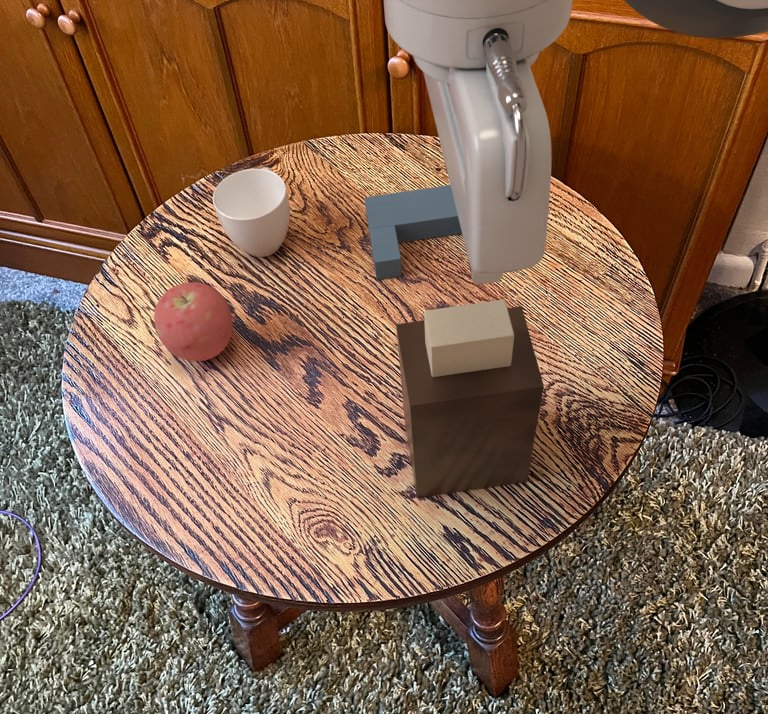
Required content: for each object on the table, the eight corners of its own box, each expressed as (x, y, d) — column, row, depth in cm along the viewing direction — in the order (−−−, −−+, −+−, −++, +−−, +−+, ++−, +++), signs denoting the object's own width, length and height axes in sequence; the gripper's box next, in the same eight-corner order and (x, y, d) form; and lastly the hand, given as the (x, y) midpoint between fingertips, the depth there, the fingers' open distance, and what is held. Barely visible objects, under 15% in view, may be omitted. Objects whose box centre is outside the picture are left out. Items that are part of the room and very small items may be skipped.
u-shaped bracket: (480, 198, 87) (481, 180, 84) (497, 262, 82) (498, 244, 80) (366, 215, 87) (364, 197, 84) (376, 280, 82) (374, 262, 80)
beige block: (502, 331, 59) (504, 298, 56) (511, 366, 58) (514, 335, 55) (425, 342, 59) (423, 310, 56) (432, 377, 58) (430, 347, 55)
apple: (241, 372, 77) (220, 317, 70) (168, 381, 78) (140, 326, 71) (240, 316, 81) (221, 259, 74) (171, 325, 81) (145, 268, 74)
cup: (219, 265, 85) (202, 215, 79) (246, 202, 89) (231, 151, 83) (287, 272, 83) (274, 222, 78) (310, 208, 88) (300, 156, 82)
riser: (509, 410, 73) (521, 305, 60) (527, 482, 69) (544, 386, 57) (405, 425, 73) (395, 323, 61) (416, 498, 69) (409, 405, 57)
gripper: (604, 106, 30) (560, 340, 42) (503, -138, 40) (491, 110, 52) (445, 129, 30) (447, 357, 42) (383, -120, 40) (399, 123, 52)
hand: (471, 219), depth 47 cm, fingers open, 8 cm apart
